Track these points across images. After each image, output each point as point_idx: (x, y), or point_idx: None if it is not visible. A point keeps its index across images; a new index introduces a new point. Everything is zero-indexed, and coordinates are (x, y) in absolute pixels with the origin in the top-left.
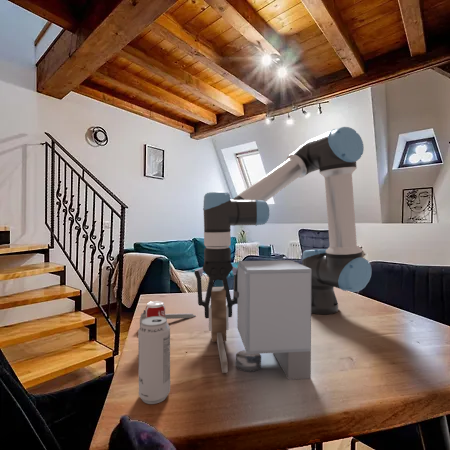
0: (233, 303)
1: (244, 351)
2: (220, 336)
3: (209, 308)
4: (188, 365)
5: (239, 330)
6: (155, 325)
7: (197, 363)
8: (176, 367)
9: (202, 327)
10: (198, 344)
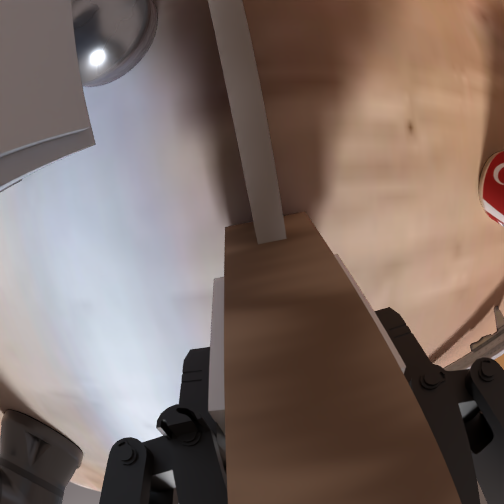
0: (161, 446)
1: (99, 61)
2: (257, 181)
3: (398, 364)
4: (380, 11)
5: (57, 9)
6: None
7: (347, 19)
8: (418, 8)
9: None
10: (366, 206)
